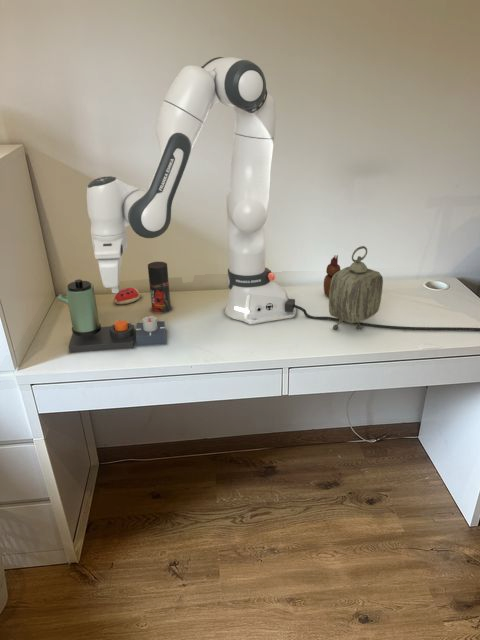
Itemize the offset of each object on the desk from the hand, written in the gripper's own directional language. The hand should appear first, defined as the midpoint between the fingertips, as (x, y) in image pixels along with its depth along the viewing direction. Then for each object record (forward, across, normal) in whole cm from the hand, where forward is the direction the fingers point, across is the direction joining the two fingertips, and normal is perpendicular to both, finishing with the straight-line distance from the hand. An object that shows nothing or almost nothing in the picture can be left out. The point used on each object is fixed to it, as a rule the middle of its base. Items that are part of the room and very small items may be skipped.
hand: (115, 291), depth 149 cm
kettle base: (+15, 0, -5) cm, 16 cm away
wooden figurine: (+15, -22, +68) cm, 73 cm away
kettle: (+11, -1, -10) cm, 15 cm away
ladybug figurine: (+15, -28, 0) cm, 32 cm away
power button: (+12, 0, 0) cm, 12 cm away
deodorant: (+15, -20, +11) cm, 27 cm away
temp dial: (+12, 0, +8) cm, 15 cm away
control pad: (+15, 0, +8) cm, 17 cm away
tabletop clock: (+15, +2, +68) cm, 70 cm away
